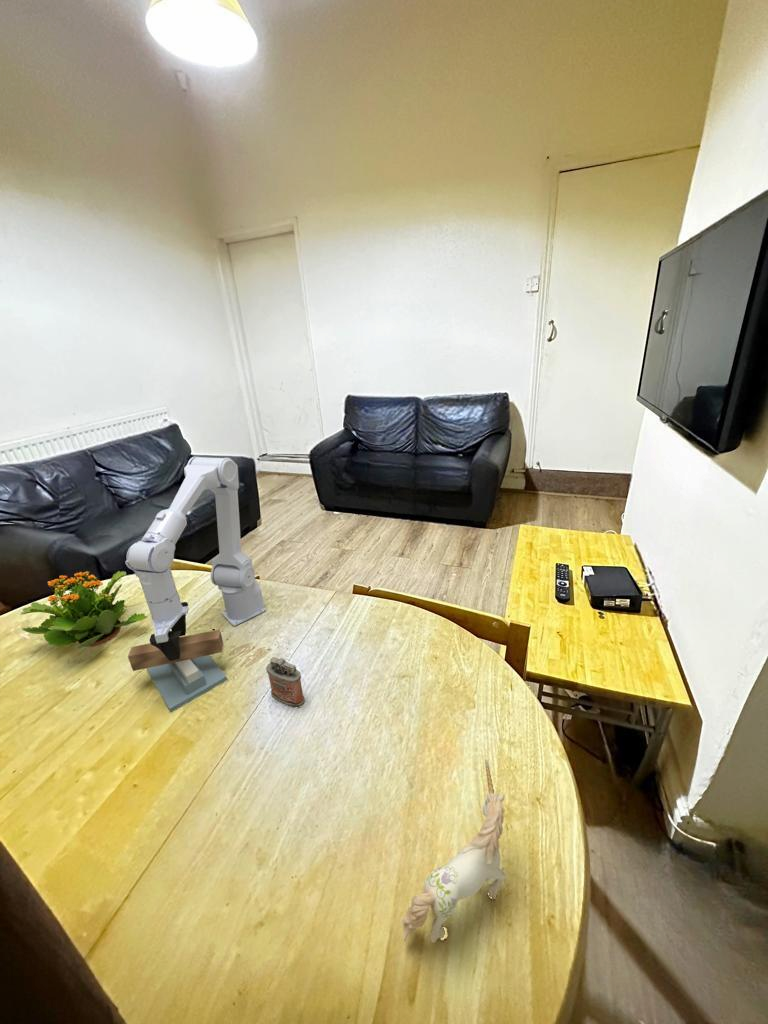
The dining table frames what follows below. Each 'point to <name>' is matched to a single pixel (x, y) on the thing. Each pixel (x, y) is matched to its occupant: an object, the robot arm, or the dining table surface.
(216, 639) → the walnut bar
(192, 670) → the ridge stand
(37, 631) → the potted flower
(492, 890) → the unicorn figurine
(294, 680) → the lighter
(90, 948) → the dining table surface
